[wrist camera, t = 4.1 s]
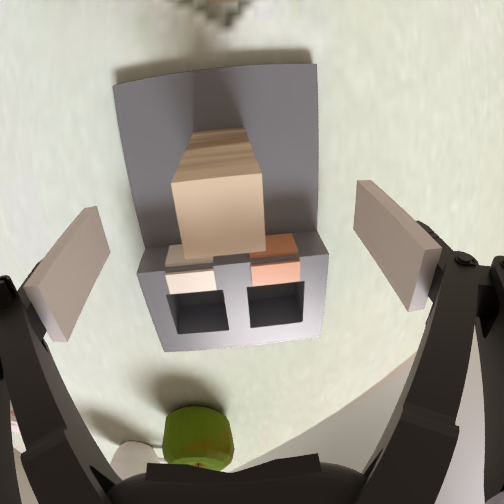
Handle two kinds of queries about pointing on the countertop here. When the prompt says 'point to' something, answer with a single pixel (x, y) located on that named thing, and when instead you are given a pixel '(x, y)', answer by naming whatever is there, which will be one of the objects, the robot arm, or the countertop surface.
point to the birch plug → (219, 195)
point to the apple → (198, 438)
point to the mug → (133, 459)
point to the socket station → (274, 199)
